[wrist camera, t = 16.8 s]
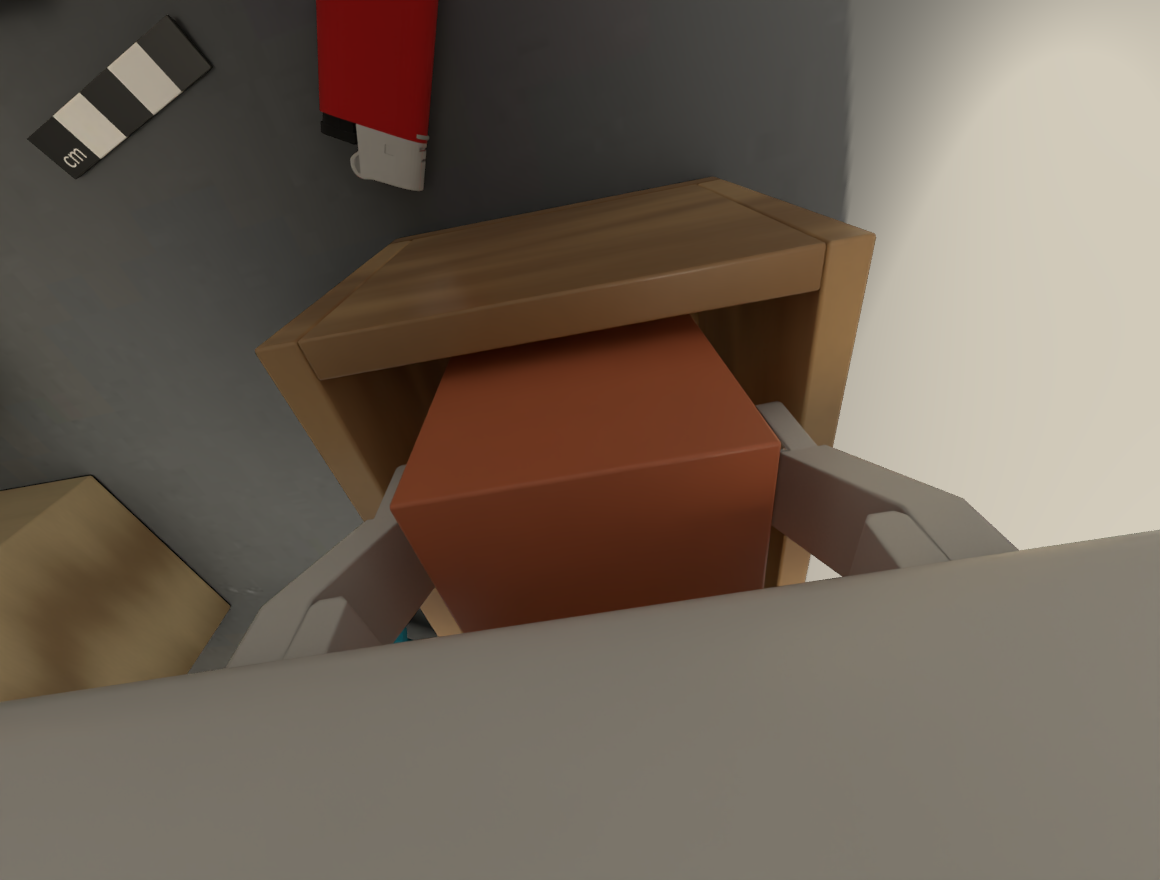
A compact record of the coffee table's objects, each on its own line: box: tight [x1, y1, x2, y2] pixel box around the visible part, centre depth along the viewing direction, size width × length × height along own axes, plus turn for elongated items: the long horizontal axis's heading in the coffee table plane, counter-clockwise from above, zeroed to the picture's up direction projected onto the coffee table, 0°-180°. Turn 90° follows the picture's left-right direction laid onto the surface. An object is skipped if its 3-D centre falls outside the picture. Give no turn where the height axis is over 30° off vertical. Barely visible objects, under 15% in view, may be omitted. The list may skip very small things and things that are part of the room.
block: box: [390, 314, 781, 633], centre depth 9 cm, size 5×5×5 cm
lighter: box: [316, 0, 438, 191], centre depth 11 cm, size 3×1×8 cm
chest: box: [255, 177, 876, 637], centre depth 15 cm, size 14×11×9 cm
